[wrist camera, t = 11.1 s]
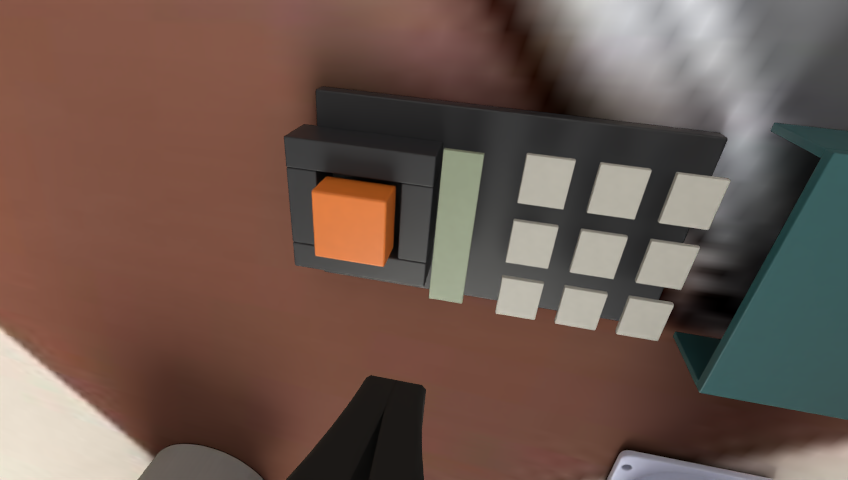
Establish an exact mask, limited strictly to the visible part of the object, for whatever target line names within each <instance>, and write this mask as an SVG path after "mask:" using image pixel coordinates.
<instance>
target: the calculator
mask: <svg viewBox="0 0 848 480" xmlns="http://www.w3.org/2000/svg"><path fill="white" fill-rule="evenodd" d="M316 108H317V126H314V125H306V124H303V125H302V126H300V127H299V128H297V129H295V130H294V131H292V132H290V133H289V134H287V135H286V136H284V143H285V155H286V166H287V177H288V189H289V200H290V212H291V224H292V235H293V241H294V242H293V246H294V257H295V265H297V266H303V267H309V268H315V269H321V270H324V271H325V272H331V273H337V274H343V275H349V276H355V277H361V278H366V279H372V280H378V281H384V282H390V283H396V284H402V285H408V286H414V287H420V288H426V289H430V280H431V270H432V260H433V250H434V240H435V231H436V221H437V211H438V201H439V191H440V181H441V171H442V161H443V151H444V148H449V149H457V150H465V151H472V152H480V153H484V160H483V167H482V174H481V180H480V187H479V194H478V201H477V207H476V214H475V221H474V227H473V234H472V241H471V247H470V254H469V261H468V268H467V274H466V281H465V288H464V294H463V295H468V296H474V297H480V298H486V299H491V300H498V295H499V290H500V285H501V280H502V275H506V276H512V277H519V278H525V279H531V280H537V281H543V282H544V286H543V290H542V293H541V297H540V301H539V305H538V307H539V308H545V309H551V310H558V306H559V303H560V300H561V296H562V293H563V289H564V286H565V285H568V286H574V287H581V288H587V289H593V290H599V291H606V292H607V294H608V296H607V298H606V301H605V304H604V307H603V310H602V313H601V315H600V318H605V319H611V320H616V321H619V320H620V317H621V315H622V312H623V309H624V307H625V304H626V302H627V299H628V296H629V295H630V296H637V297H643V298H649V299H655V300H659V298H660V296H661V293H662V291H663V289H664V287H660V286H653V285H647V284H641V283H636V281H635V278H636V276H637V273H638V270H639V268H640V265H641V263H642V260H643V257H644V255H645V252H646V250H647V247H648V244H649V242H650V239H657V240H664V241H671V242H678V243H683V242H684V240H685V237H686V235H687V233H688V230H689V228H690V227H684V226H677V225H670V224H662V223H659V222H658V218H659V216H660V213H661V211H662V208H663V205H664V203H665V200H666V198H667V195H668V192H669V190H670V187H671V185H672V182H673V179H674V177H675V174H676V172H682V173H689V174H697V175H705V176H712V175H713V172H714V170H715V168H716V165H717V163H718V161H719V158H720V156H721V154H722V151H723V149H724V147H725V144H726V142H727V137H725V136H724V135H722V134H721V133H717V132H708V131H700V130H691V129H683V128H674V127H666V126H657V125H649V124H640V123H631V122H623V121H614V120H606V119H597V118H589V117H580V116H571V115H563V114H554V113H546V112H537V111H529V110H520V109H511V108H503V107H494V106H486V105H477V104H469V103H460V102H452V101H443V100H434V99H426V98H417V97H409V96H400V95H392V94H383V93H374V92H366V91H357V90H349V89H340V88H332V87H320V88H318V89H316ZM527 153H533V154H541V155H549V156H556V157H564V158H572V159H575V160H576V162H575V166H574V170H573V174H572V178H571V182H570V186H569V189H568V193H567V197H566V201H565V205H564V209H556V208H549V207H542V206H535V205H528V204H521V203H517V200H518V195H519V190H520V185H521V180H522V175H523V170H524V165H525V160H526V155H527ZM600 162H603V163H611V164H619V165H627V166H635V167H642V168H650V169H651V170H652V171H651V174H650V177H649V180H648V183H647V185H646V188H645V191H644V194H643V197H642V200H641V202H640V205H639V208H638V211H637V214H636V217H635V219H627V218H620V217H613V216H606V215H599V214H592V213H587V211H586V210H587V206H588V203H589V199H590V196H591V192H592V189H593V185H594V182H595V178H596V175H597V172H598V168H599V165H600ZM327 176H330V177H337V178H344V179H352V180H359V181H366V182H373V183H380V184H387V185H394V186H396V201H395V223H394V244H393V249H392V251H391V253H390V255H389V257H388V259H387V262H386V264H385V266H384V267H380V266H374V265H368V264H362V263H356V262H350V261H344V260H338V259H332V258H326V257H320V256H316V255H315V244H314V227H313V210H312V190H313V189H314V188H315V187H316V186H317V185H318V184H319V183H320V182H321V181H322V180H323V179H324V178H325V177H327ZM514 219H520V220H527V221H534V222H541V223H547V224H554V225H558V227H559V228H558V232H557V236H556V239H555V243H554V247H553V251H552V255H551V259H550V263H549V266H548V269H546V268H539V267H533V266H527V265H520V264H514V263H507V262H506V255H507V250H508V245H509V240H510V235H511V230H512V225H513V220H514ZM581 229H589V230H595V231H602V232H609V233H616V234H623V235H627V236H628V239H627V242H626V245H625V248H624V250H623V253H622V256H621V259H620V262H619V265H618V267H617V270H616V273H615V276H614V279H609V278H603V277H596V276H590V275H584V274H577V273H571V272H570V271H569V268H570V265H571V262H572V258H573V255H574V251H575V248H576V244H577V241H578V237H579V234H580V230H581Z"/></svg>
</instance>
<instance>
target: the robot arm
mask: <svg viewBox="0 0 848 480" xmlns="http://www.w3.org/2000/svg"><path fill="white" fill-rule="evenodd" d="M425 394H426V389H425V388H424V387H423V386H422V385H418V384H413V383H408V382H403V381H398V380H392V379H387V378H382V377H377V376H372V375H371V376H369V377H367V378H366V379H365V381H364V382H363V384H362V385H361V387H360V388H359V390H358V391H357V393H356V394H355V396H354V397H353V399H352V400H351V401H350V403H349V404H348V406H347V407H346V408H345V410H344V411H343V412H342V414H341V415H340V416H339V418H338V419H337V420H336V421H335V423H334V424H333V425H332V427H331V428H330V429H329V430H328V431H327V433H326V434H325V435H324V436H323V438H322V439H321V440H320V441H319V442H318V444H317V445H316V446H315V447H314V449H313V450H312V451H311V452H310V453H309V455H308V456H307V457H306V458H305V459H304V460H303V461H302V462H301V464H300V465H299V466H298V467H297V468H296V469H295V470H294V471H293V472H292V474H291V475H290V476H289V477H288V478H287V479H286V480H424V475H423V461H422V422H423V413H424V404H425ZM607 480H773V479H770V478H766V477H761V476H756V475H751V474H746V473H741V472H736V471H731V470H726V469H722V468H717V467H712V466H707V465H702V464H697V463H692V462H687V461H682V460H677V459H672V458H667V457H662V456H657V455H652V454H647V453H642V452H637V451H632V450H624V451H622V452H621V453H620V454H619V455H618V457H617V460H616V462H615V464H614V466H613V468H612V470H611V472H610V474H609V476H608V478H607Z"/></svg>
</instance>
